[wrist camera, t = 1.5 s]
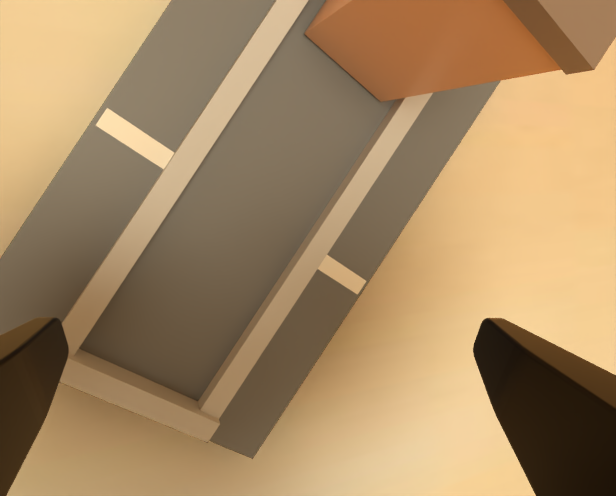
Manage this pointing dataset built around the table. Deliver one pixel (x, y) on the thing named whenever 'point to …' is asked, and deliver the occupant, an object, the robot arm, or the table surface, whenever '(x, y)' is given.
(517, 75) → the fader tab
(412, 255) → the table surface
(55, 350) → the robot arm
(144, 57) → the board
